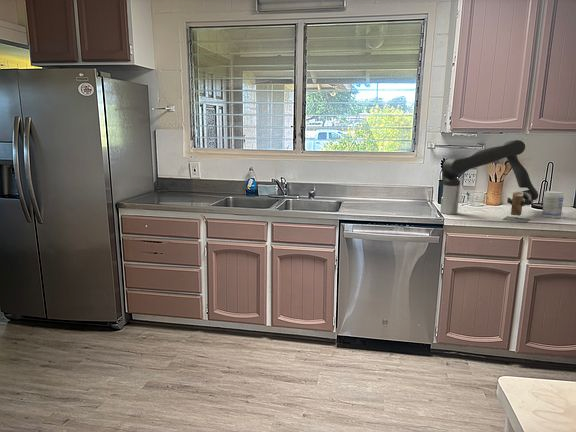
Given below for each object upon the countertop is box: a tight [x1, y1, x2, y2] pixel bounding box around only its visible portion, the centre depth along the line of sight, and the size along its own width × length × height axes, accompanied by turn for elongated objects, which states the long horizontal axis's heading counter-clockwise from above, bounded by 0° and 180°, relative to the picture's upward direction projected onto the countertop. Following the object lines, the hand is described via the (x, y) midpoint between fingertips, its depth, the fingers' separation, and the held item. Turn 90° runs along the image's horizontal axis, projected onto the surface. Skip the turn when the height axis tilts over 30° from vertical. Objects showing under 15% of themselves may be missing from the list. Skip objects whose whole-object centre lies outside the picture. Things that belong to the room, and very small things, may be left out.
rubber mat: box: [501, 215, 531, 223], centre depth 236 cm, size 12×11×1 cm
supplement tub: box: [541, 190, 565, 219], centre depth 242 cm, size 10×10×15 cm
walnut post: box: [510, 190, 524, 217], centre depth 237 cm, size 4×4×13 cm
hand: (516, 203), depth 235 cm, fingers closed on walnut post, 4 cm apart
